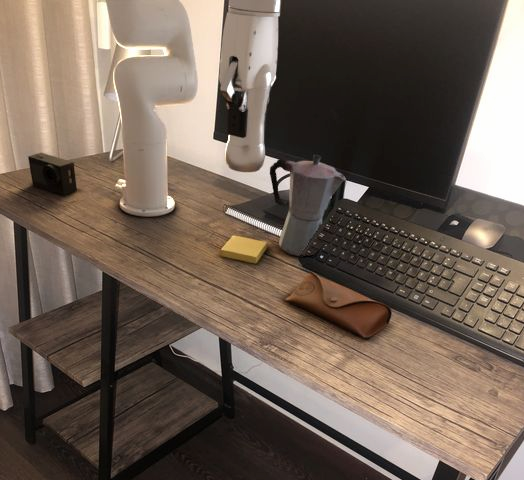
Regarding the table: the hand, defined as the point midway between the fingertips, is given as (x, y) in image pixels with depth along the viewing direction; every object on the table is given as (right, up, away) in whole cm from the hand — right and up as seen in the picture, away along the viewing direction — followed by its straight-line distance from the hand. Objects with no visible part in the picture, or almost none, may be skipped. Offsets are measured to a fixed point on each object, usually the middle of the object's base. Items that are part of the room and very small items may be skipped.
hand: (246, 131), depth 90 cm
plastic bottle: (-1, -5, +4) cm, 7 cm away
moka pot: (+10, -14, +29) cm, 34 cm away
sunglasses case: (+16, -29, +9) cm, 34 cm away
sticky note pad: (-1, -15, +25) cm, 29 cm away
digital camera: (-48, +3, +44) cm, 65 cm away
